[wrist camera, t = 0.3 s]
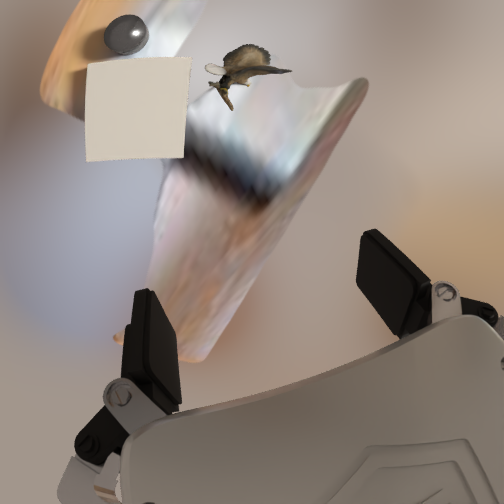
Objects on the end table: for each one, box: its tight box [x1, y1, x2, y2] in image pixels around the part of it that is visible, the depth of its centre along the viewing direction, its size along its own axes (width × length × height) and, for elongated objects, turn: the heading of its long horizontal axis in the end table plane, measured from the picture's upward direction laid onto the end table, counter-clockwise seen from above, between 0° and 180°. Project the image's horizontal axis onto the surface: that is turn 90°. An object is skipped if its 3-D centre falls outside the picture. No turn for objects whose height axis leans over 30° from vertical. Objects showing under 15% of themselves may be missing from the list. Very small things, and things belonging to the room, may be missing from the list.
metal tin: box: [104, 15, 149, 55], centre depth 22 cm, size 5×5×4 cm
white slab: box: [85, 57, 192, 162], centre depth 28 cm, size 13×13×3 cm
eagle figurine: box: [205, 44, 292, 111], centre depth 28 cm, size 8×7×9 cm
